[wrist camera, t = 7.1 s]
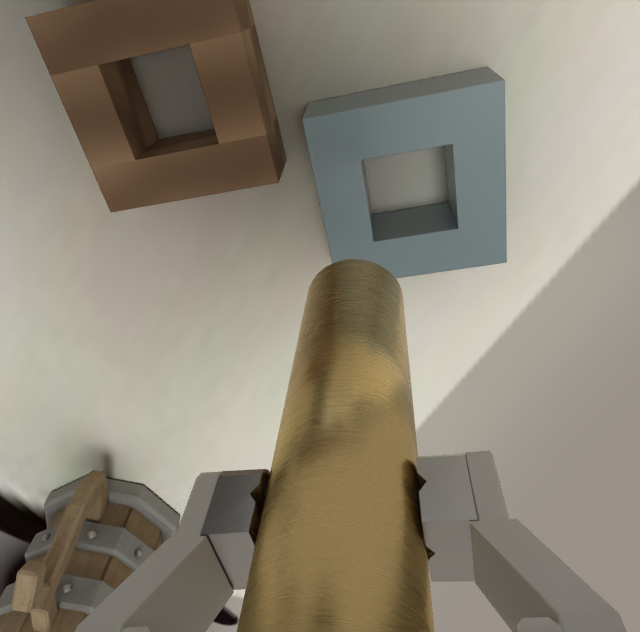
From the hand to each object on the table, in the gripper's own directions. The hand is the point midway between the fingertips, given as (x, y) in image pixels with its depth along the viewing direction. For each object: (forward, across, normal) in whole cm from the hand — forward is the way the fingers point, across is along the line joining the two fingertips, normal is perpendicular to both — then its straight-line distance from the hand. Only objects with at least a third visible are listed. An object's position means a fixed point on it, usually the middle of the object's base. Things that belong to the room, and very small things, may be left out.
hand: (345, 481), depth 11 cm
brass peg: (+8, 0, 0) cm, 8 cm away
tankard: (+25, +29, +28) cm, 47 cm away
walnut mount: (+24, +10, -6) cm, 27 cm away
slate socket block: (+25, -2, +1) cm, 25 cm away
